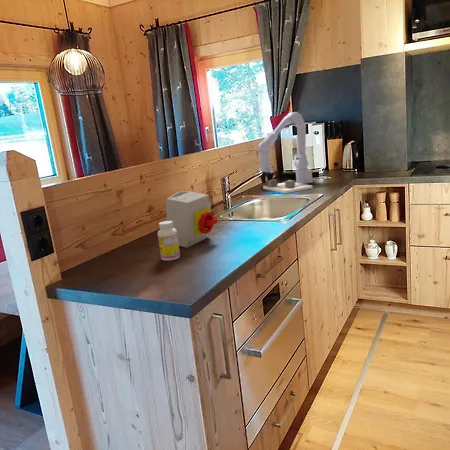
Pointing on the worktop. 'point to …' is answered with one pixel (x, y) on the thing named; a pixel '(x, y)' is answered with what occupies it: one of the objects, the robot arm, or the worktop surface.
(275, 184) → the slider
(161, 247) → the supplement bottle
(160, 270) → the worktop surface
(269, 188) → the panel
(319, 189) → the worktop surface
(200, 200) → the electrical switch box
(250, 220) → the worktop surface
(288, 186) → the slider
